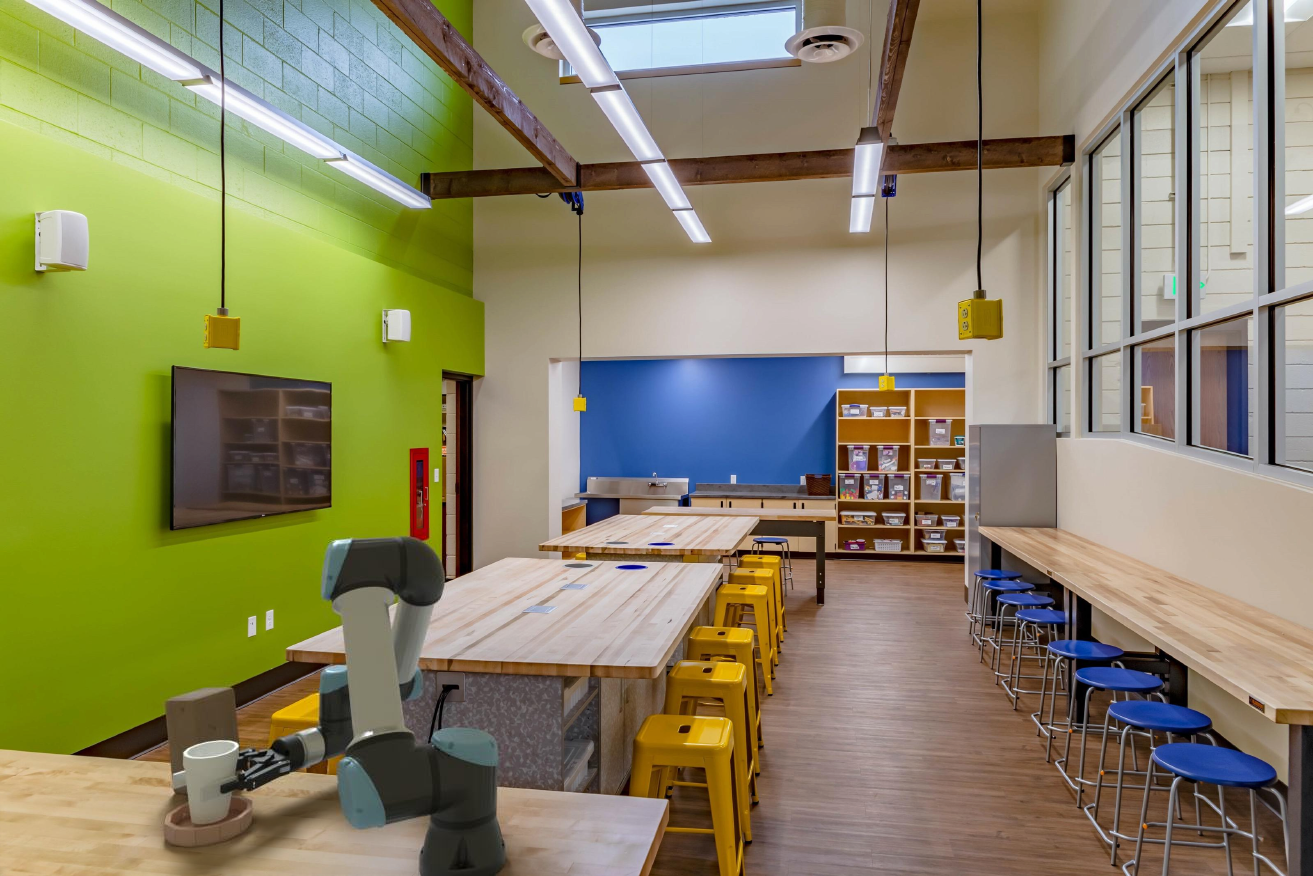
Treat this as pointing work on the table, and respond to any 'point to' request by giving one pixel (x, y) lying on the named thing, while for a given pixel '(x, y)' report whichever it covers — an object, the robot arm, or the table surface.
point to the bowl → (207, 825)
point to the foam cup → (209, 777)
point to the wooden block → (199, 722)
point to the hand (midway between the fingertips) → (186, 788)
